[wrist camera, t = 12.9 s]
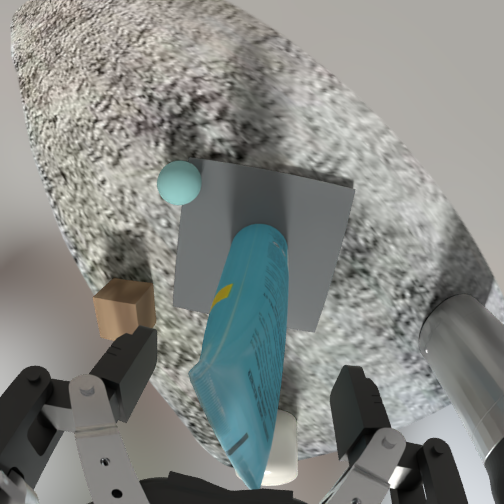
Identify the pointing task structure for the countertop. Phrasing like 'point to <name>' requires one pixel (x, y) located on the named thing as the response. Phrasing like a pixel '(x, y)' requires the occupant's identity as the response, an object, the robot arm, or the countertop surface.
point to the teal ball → (179, 182)
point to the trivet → (261, 212)
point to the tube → (246, 350)
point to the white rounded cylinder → (282, 452)
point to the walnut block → (124, 307)
